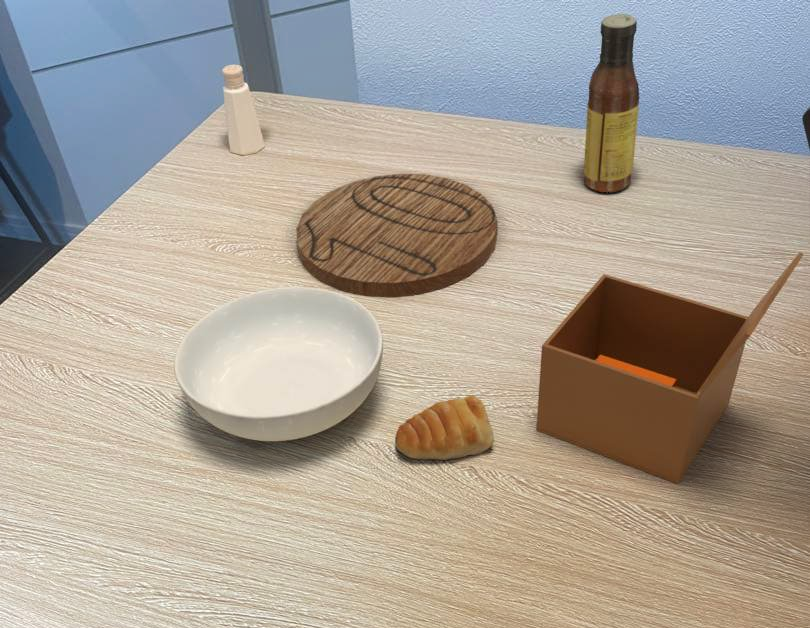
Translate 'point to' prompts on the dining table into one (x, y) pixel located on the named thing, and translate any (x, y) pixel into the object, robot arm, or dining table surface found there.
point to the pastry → (446, 431)
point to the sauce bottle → (612, 109)
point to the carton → (637, 376)
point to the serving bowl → (280, 362)
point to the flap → (751, 323)
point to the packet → (637, 370)
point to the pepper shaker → (240, 113)
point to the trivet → (397, 235)
